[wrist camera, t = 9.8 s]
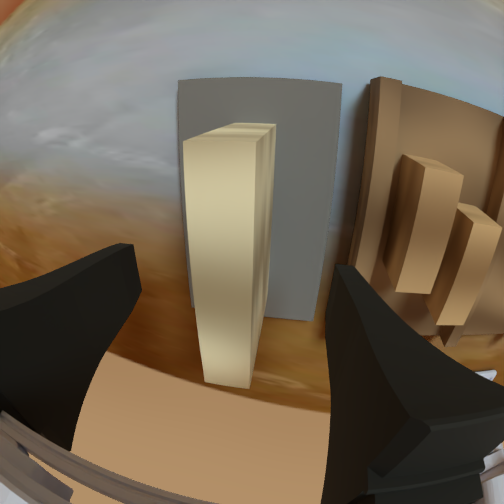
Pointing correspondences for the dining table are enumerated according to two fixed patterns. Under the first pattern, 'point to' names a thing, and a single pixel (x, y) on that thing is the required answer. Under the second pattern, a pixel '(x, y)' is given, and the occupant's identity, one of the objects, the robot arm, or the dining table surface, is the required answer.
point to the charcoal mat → (278, 171)
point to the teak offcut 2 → (463, 265)
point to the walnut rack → (472, 193)
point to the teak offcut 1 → (421, 223)
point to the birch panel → (230, 243)
